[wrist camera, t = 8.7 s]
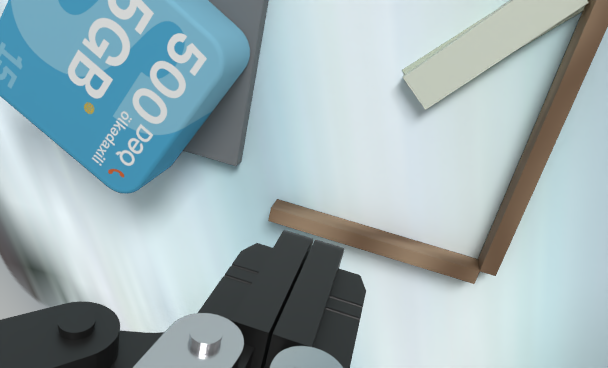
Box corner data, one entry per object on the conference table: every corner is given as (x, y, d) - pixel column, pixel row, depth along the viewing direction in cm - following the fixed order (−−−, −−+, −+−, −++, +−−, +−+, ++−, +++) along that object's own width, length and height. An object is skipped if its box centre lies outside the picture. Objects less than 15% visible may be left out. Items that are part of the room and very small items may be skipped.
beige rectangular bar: (589, 5, 27) (600, 7, 25) (424, 103, 31) (423, 110, 29) (564, -41, 27) (574, -42, 25) (400, 65, 31) (398, 70, 29)
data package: (53, -105, 25) (235, 57, 26) (106, -94, 29) (262, 47, 30) (-28, 74, 30) (126, 205, 31) (26, 63, 34) (161, 179, 35)
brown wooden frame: (630, -49, 25) (641, -50, 24) (487, 275, 33) (489, 288, 32) (341, -110, 27) (336, -115, 26) (274, 211, 35) (268, 220, 34)
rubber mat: (278, -61, 29) (273, -63, 28) (241, 161, 34) (236, 166, 34) (150, -91, 30) (141, -93, 29) (135, 130, 35) (127, 134, 35)
